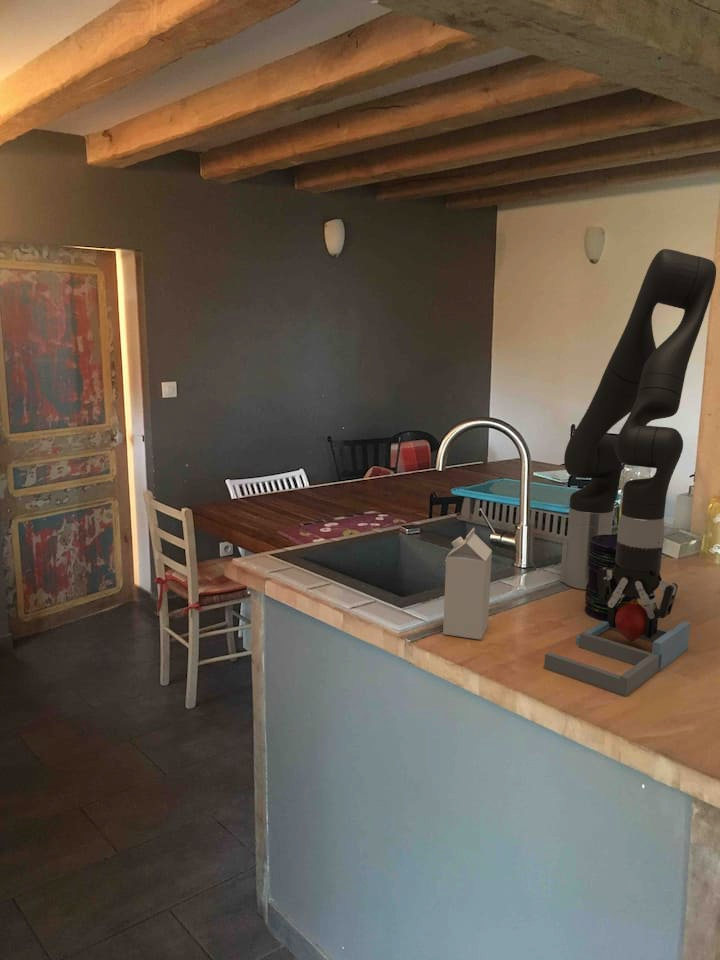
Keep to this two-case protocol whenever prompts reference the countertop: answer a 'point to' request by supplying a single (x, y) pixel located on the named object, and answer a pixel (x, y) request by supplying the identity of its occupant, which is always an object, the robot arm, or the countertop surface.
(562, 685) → the countertop surface
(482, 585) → the milk carton
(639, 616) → the pomegranate
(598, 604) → the storage jar
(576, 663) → the channel organiser
